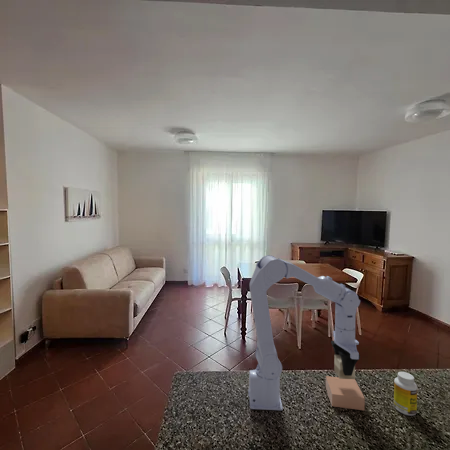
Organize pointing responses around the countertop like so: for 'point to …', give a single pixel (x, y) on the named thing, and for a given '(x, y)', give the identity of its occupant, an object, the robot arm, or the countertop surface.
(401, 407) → the supplement bottle
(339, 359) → the metal block
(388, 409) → the countertop surface
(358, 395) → the terracotta box
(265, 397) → the robot arm
